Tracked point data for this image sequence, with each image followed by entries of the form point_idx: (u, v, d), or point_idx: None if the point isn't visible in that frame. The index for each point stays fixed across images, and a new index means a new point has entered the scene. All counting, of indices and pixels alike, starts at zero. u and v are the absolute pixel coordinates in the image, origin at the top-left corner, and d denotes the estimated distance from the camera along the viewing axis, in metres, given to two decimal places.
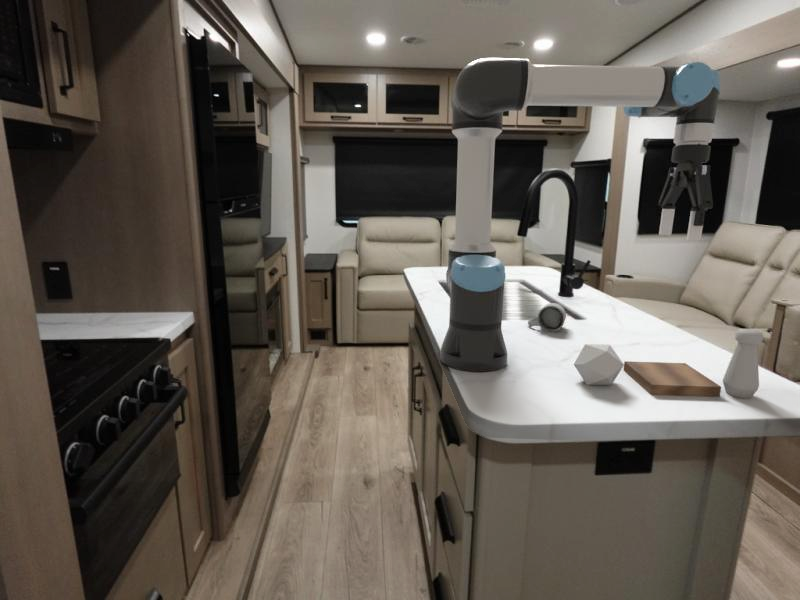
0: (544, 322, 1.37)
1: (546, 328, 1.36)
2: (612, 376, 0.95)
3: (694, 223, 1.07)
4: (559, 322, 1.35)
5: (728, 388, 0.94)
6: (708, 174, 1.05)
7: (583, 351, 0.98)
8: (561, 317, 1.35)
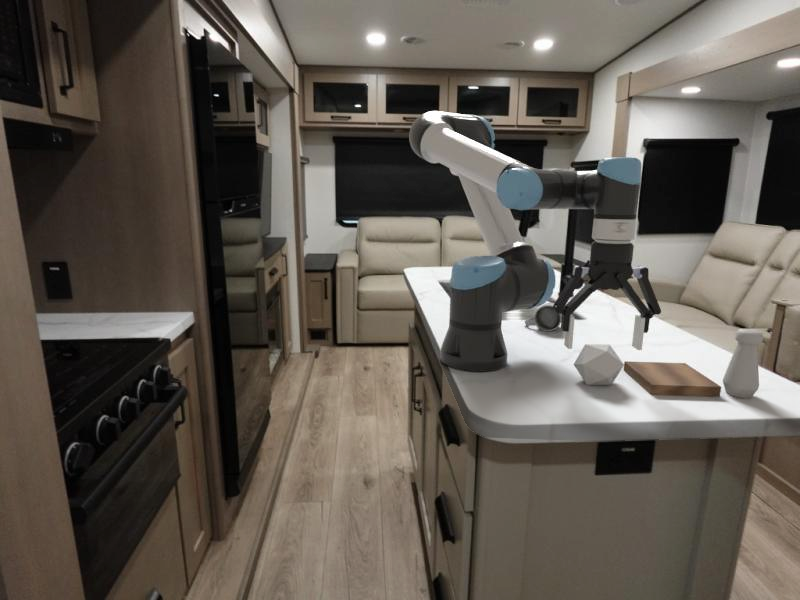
0: (541, 322, 1.37)
1: (543, 328, 1.36)
2: (612, 376, 0.95)
3: None
4: (556, 322, 1.35)
5: (728, 388, 0.94)
6: (574, 276, 0.94)
7: (583, 351, 0.98)
8: (558, 317, 1.35)
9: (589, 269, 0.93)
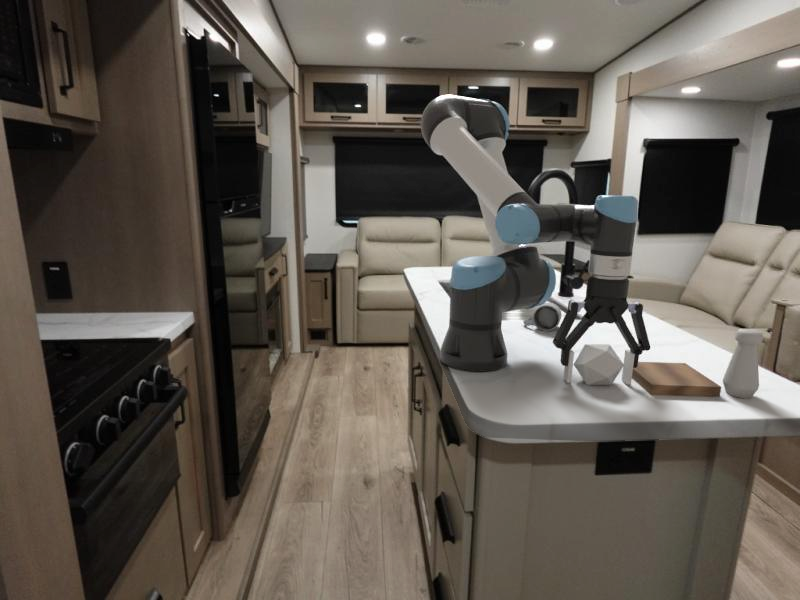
0: (540, 321, 1.37)
1: (541, 327, 1.37)
2: (612, 376, 0.95)
3: None
4: (554, 321, 1.35)
5: (728, 388, 0.94)
6: (570, 312, 0.95)
7: (583, 351, 0.98)
8: (556, 316, 1.35)
9: (585, 303, 0.95)
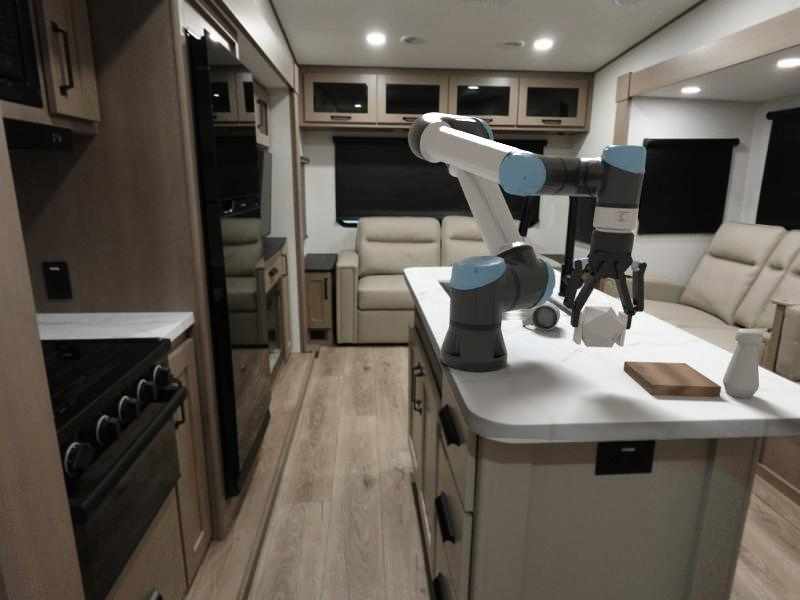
0: (538, 321, 1.37)
1: (540, 327, 1.37)
2: (612, 337, 0.94)
3: None
4: (553, 321, 1.36)
5: (728, 388, 0.94)
6: (575, 270, 0.94)
7: None
8: (555, 316, 1.35)
9: (588, 259, 0.93)
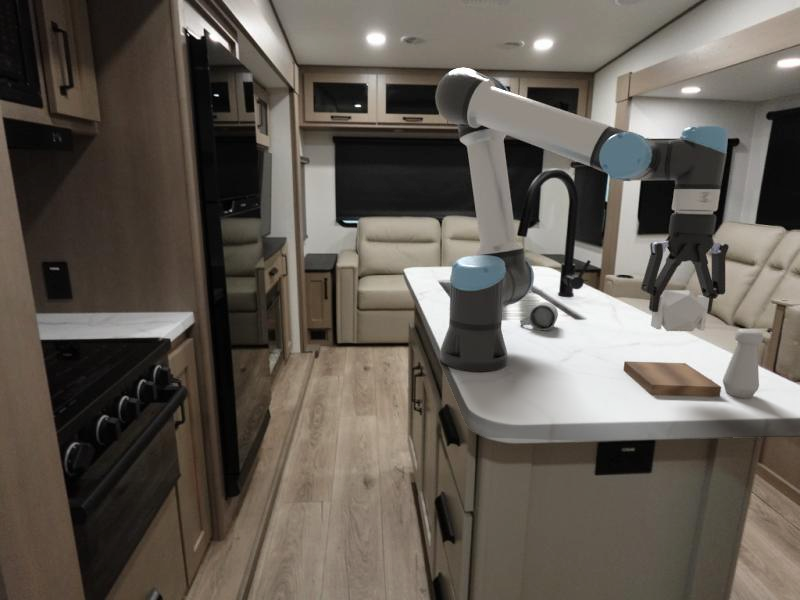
0: (536, 321, 1.38)
1: (538, 327, 1.37)
2: (694, 320, 0.93)
3: None
4: (551, 321, 1.36)
5: (728, 388, 0.94)
6: (655, 254, 0.93)
7: None
8: (553, 316, 1.36)
9: (668, 242, 0.93)
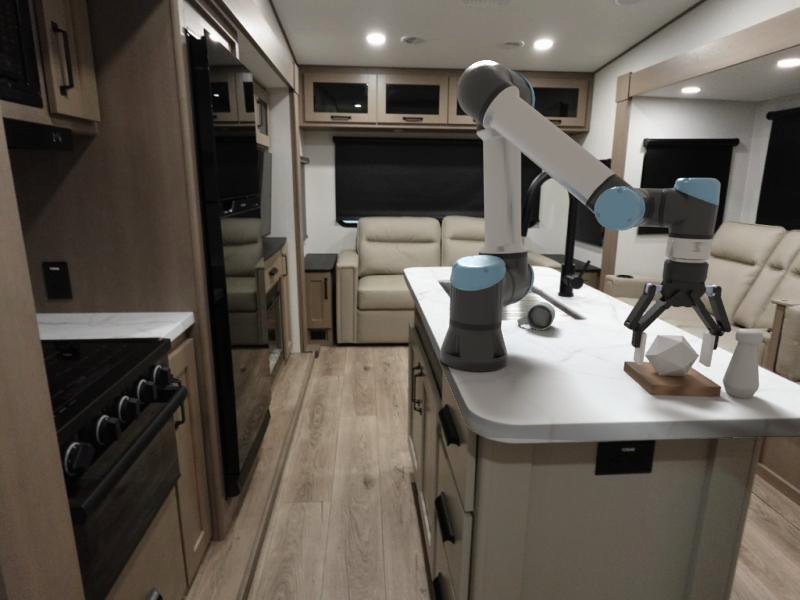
0: (533, 321, 1.38)
1: (535, 327, 1.37)
2: (687, 367, 0.95)
3: None
4: (548, 321, 1.36)
5: (728, 388, 0.94)
6: (647, 294, 0.95)
7: (656, 342, 0.98)
8: (550, 316, 1.36)
9: (662, 287, 0.95)
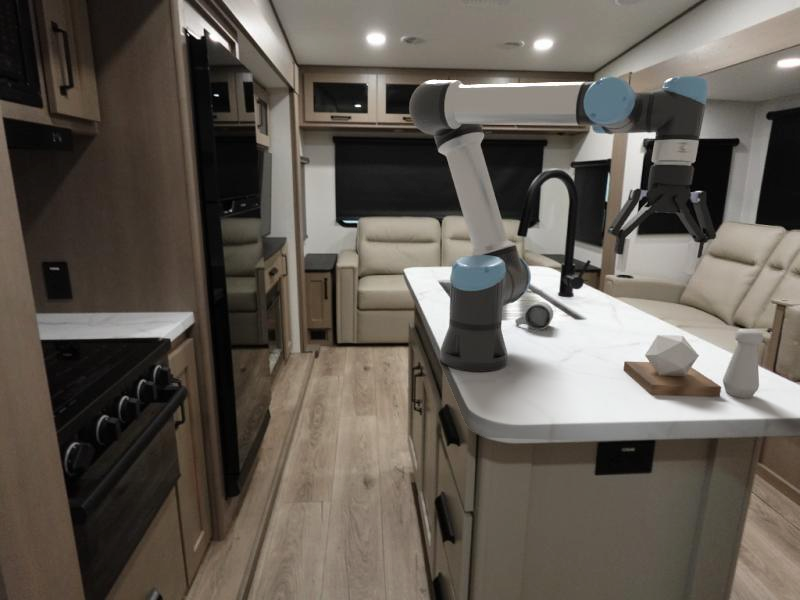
0: (531, 320, 1.38)
1: (533, 326, 1.38)
2: (687, 367, 0.95)
3: None
4: (546, 320, 1.36)
5: (728, 388, 0.94)
6: (632, 198, 0.95)
7: (656, 342, 0.98)
8: (548, 316, 1.36)
9: (647, 191, 0.95)
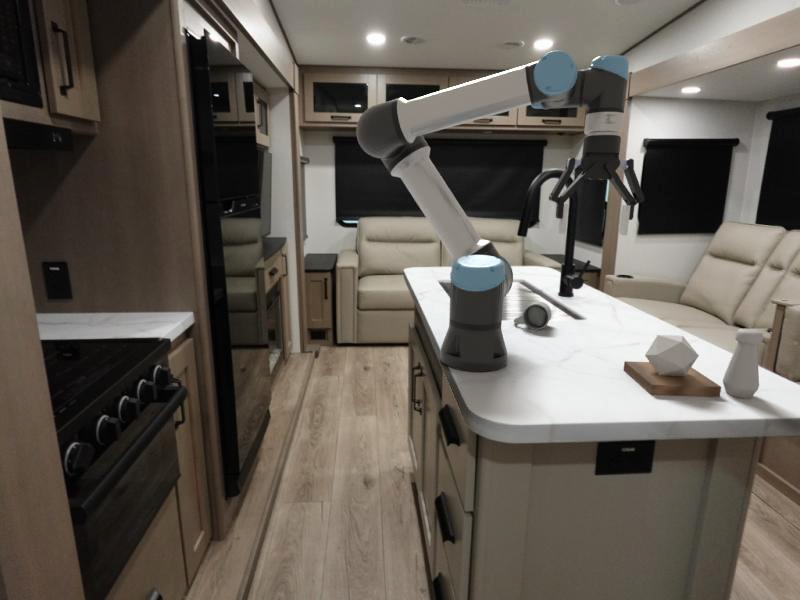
0: (529, 320, 1.38)
1: (531, 326, 1.38)
2: (687, 367, 0.95)
3: None
4: (544, 320, 1.37)
5: (728, 388, 0.94)
6: (568, 167, 1.05)
7: (656, 342, 0.98)
8: (546, 315, 1.36)
9: (581, 160, 1.05)
